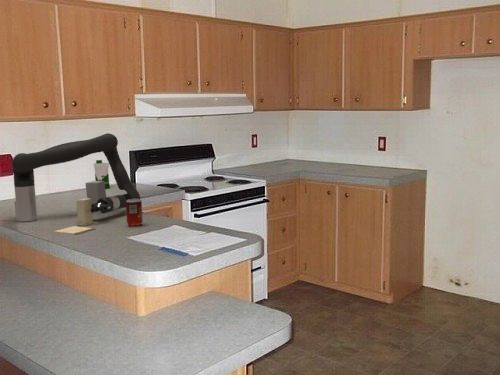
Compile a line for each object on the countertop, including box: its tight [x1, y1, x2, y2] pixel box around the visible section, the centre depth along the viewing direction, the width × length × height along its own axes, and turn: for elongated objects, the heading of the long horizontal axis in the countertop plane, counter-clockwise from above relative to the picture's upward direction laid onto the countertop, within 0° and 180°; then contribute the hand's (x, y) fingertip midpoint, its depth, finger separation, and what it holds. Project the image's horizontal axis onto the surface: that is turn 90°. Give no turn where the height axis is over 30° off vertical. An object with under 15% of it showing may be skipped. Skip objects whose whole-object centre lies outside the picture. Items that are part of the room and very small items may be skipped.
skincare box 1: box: [76, 197, 94, 227], centre depth 247 cm, size 6×4×12 cm
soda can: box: [125, 198, 143, 228], centre depth 242 cm, size 7×7×12 cm
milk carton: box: [93, 159, 111, 190], centre depth 369 cm, size 9×9×20 cm
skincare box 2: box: [84, 180, 107, 203], centre depth 284 cm, size 8×7×16 cm
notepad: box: [54, 225, 96, 235], centre depth 235 cm, size 14×11×1 cm
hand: (84, 209), depth 247 cm, fingers open, 8 cm apart
